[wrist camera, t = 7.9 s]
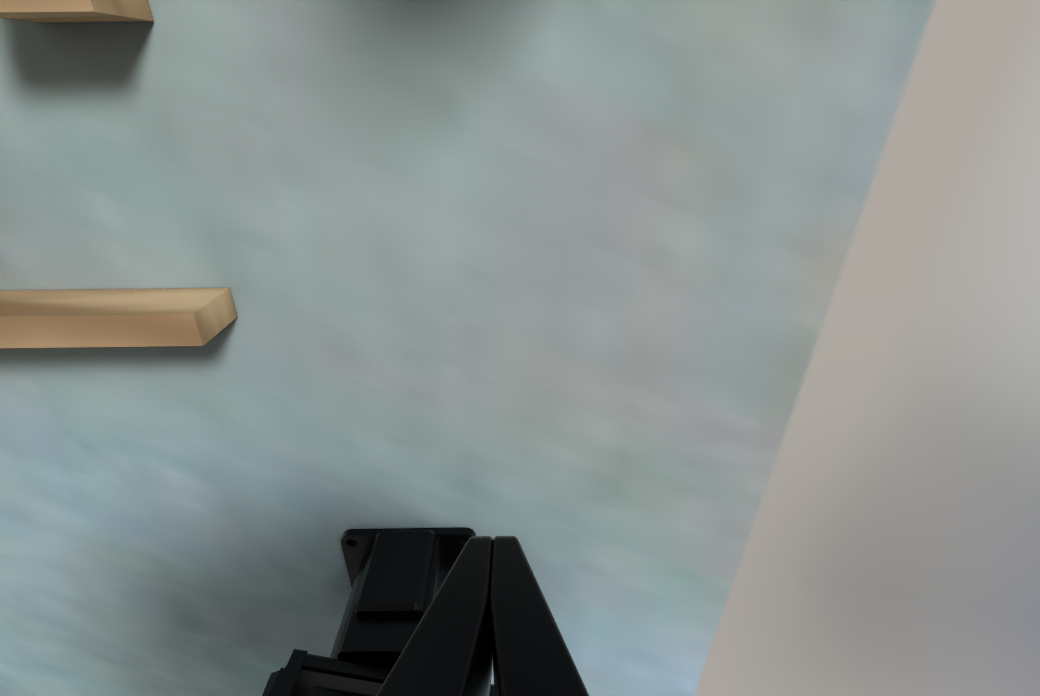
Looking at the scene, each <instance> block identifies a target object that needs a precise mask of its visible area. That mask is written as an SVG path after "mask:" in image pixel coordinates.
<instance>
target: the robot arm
mask: <svg viewBox="0 0 1040 696" xmlns="http://www.w3.org/2000/svg"><path fill="white" fill-rule="evenodd" d="M464 538H468V539H464ZM351 539H353V540H351ZM341 544H342V548H343V553H344V557H345V561H346V565H347V570H348V574H349V578H350V582H351V587H352V591H351V594H350V597H349V600H348V603H347V606H346V609H345V612H344V615H343V619H342V622H341V625H340V628H339V631H338V634H337V637H336V640H335V643H334V646H333V650H332V653H331V656H330V658H328V657H323V656H317V655H311V654H307V653H308V651H304V650H298V649H294V651H293V653H292V655H291V657H290V659H289V662H288V664H287V666H286V667H285V668H281V669H280V670H279V671H276V672H273V673H271V675H270V678H269V680H268V683H267V685H266V688H265V690H264V692H263V695H262V696H589V695H588V692H587V690H586V688H585V686H584V684H583V681H582V679H581V677H580V675H579V673H578V670H577V668H576V666H575V664H574V662H573V659H572V657H571V655H570V653H569V651H568V648H567V646H566V644H565V642H564V640H563V637H562V635H561V633H560V631H559V629H558V627H557V624H556V622H555V620H554V618H553V616H552V613H551V611H550V609H549V607H548V605H547V602H546V600H545V598H544V596H543V594H542V591H541V589H540V587H539V585H538V583H537V580H536V578H535V576H534V574H533V572H532V569H531V567H530V565H529V563H528V561H527V559H526V556H525V554H524V552H523V550H522V548H521V545H520V543H519V541H518V539H517V538H516V537H515V536H496V537H495V538H494V539H492V537H490V536H476V534H475V532H474V531H473V530H472V529H470V528H405V529H350V530H347V531H345V533H344V535H343V537H342V540H341ZM492 664H493V671H494V685H493V684H491V676H492Z"/></svg>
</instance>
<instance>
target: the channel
mask: <svg viewBox="0 0 1040 696" xmlns="http://www.w3.org/2000/svg"><path fill="white" fill-rule="evenodd" d="M0 18H6V19H14V20H22V21H30V22H38V23H40V22H134V21H153V17H152V14H151V10H150V7H149V3H148V0H0ZM237 317H238V316H237V313H236V309H235V306H234V302H233V299H232V295H231V292H230V288H173V289H88V290H4V291H0V348H66V347H149V346H204V345H205V344H206V343H207V342H208V341H210V340H211V339H212V338H213V337H214V336H216V335H217V334H218V333H219V332H220V331H221V330H223V329H224V328H225V327H226V326H227V325H228V324H230V323H231V322H232V321H233V320H234V319H236V318H237Z"/></svg>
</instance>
